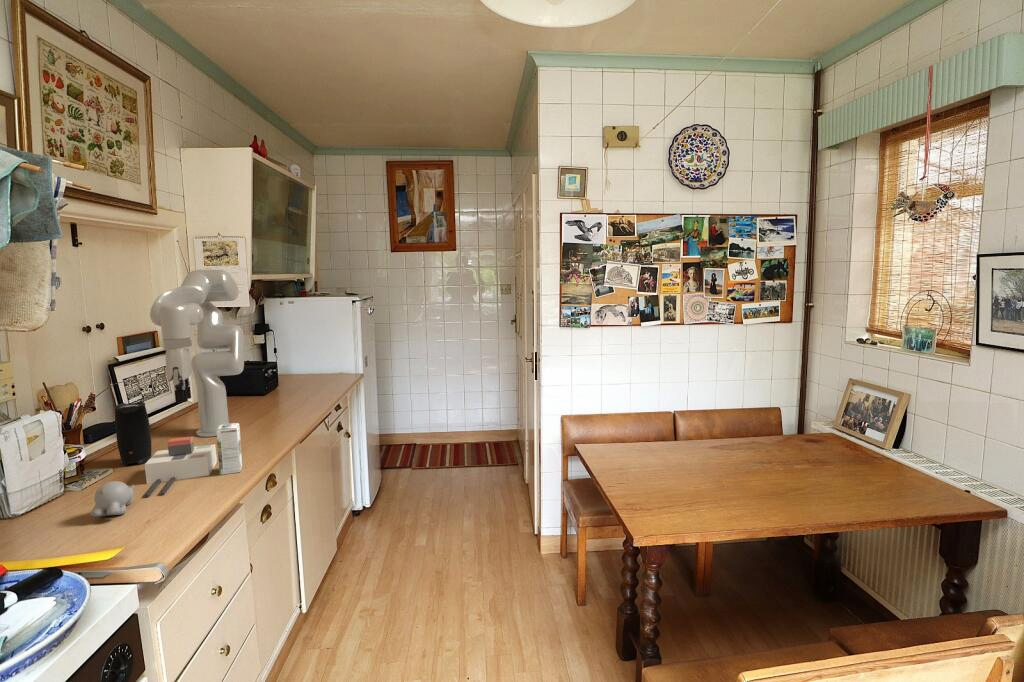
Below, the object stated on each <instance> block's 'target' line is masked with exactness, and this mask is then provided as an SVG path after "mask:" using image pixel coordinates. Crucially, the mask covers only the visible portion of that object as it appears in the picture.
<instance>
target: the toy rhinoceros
mask: <svg viewBox="0 0 1024 682" xmlns="http://www.w3.org/2000/svg"><path fill="white" fill-rule="evenodd" d="M134 488H135V484H131V485H130V486H129V485H127V484H126V483H124V482H123V481H117V480H114V481H113V480H112V481H108V482H105V483H104V484H102V485H101V486H99V487H98V488H97V489H96V491H95V494H94V503H95V505H94V506H93V508H92V509H91V511H90V516H91V517H98V518H99V517H107V516H112V515H114V516H120V515H121V516H122V515H125V514H126V512H127V507H126V506H129V505H130V504H133V502H134V497H135V496H134V495H135V491H134Z"/></svg>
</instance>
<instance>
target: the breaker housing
mask: <svg viewBox="0 0 1024 682" xmlns="http://www.w3.org/2000/svg"><path fill="white" fill-rule="evenodd" d="M217 463H218V459H217V446H216V444H215V443H214V444H206V445H198V446H194V451H193V452H192V453H189V454H180V455H172V456H169V452H168V449H163V450H156V451H155V453H154V454H152V455H151V458H150V459H149V460H148V461H147V462H146V463H144V469H145V470H144V471H145V472H144V473H145V479H146V484H148V485H149V484H154V483H155V482H156V480H157V479H161V482H160V483H163V482H168V481H169V480H170V479H171V478H172V477H175V481H178V480H185V479H194V478H200V477H201V478H202V477H209V476H210V474H212V471H213V470H214V468H215V466H216V464H217Z"/></svg>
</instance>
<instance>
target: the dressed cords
mask: <svg viewBox="0 0 1024 682" xmlns="http://www.w3.org/2000/svg"><path fill="white" fill-rule="evenodd" d="M175 481H176V480H175V477H172V478H171V479H170V480H169V481H167V483H166V484H165V485H164V487H163V488H162V489H161V490H160V492H159V494H160V495H161V496H164V495H165V494H166V493H167V492H168V490H169V488H170V487H171V486H172V485H173V483H174V482H175ZM161 483H162V482H161V479H157V480H156V482H155V483H152V485H151V486H150V487H149V489H148V490H147V491H146V493H145V494H144V497H145V498H149V497H150V496H151V495H152V494H153V493H154V491H155V489H157V487H158V486H159V485H160V484H161Z"/></svg>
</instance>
